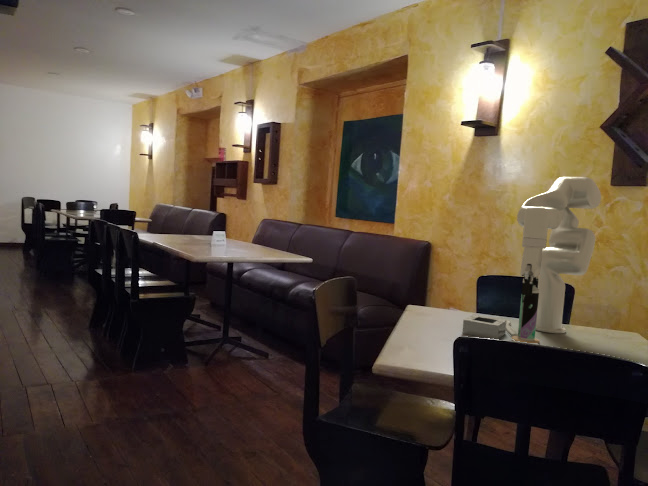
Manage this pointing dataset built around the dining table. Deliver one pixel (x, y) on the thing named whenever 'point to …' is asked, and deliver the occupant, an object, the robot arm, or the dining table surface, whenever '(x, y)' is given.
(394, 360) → the dining table surface
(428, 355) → the dining table surface
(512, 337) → the coaster
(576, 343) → the dining table surface
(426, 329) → the dining table surface
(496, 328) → the block
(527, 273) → the robot arm
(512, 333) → the adjustable wrench
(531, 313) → the spray can
